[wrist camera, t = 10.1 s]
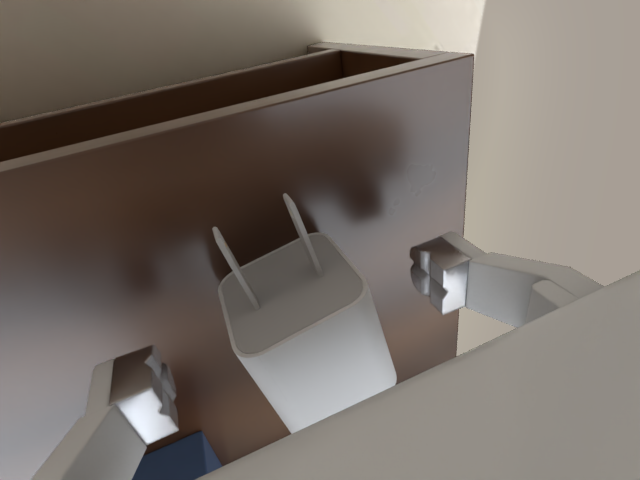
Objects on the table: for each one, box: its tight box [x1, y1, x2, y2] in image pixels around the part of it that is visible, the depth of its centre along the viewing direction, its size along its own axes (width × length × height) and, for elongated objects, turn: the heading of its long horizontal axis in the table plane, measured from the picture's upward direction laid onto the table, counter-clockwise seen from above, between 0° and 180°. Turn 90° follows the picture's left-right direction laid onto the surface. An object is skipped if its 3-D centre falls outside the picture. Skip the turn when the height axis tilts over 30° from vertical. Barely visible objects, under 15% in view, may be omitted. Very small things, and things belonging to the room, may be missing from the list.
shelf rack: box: [0, 42, 474, 480], centre depth 19 cm, size 18×22×14 cm
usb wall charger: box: [212, 193, 397, 434], centre depth 12 cm, size 4×7×4 cm, turn 18°
